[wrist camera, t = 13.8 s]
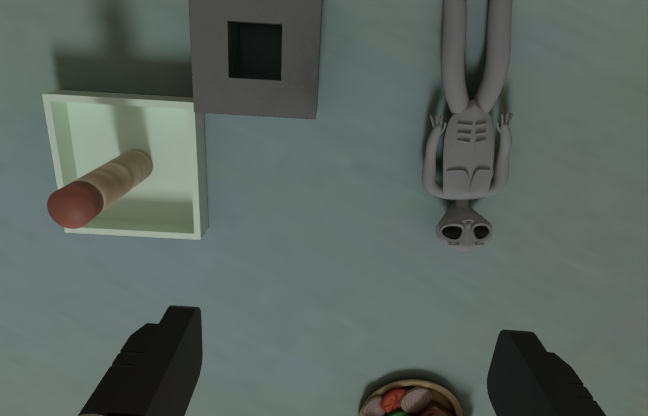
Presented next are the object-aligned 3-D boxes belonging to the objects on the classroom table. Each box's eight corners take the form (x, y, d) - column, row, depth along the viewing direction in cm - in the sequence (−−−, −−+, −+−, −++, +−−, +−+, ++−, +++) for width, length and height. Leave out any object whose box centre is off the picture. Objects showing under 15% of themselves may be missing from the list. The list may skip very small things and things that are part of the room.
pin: (119, 148, 42) (43, 188, 31) (151, 149, 42) (87, 190, 31) (123, 178, 43) (51, 227, 32) (154, 180, 43) (92, 229, 32)
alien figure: (547, -43, 33) (510, 260, 41) (520, -31, 38) (491, 240, 46) (440, -40, 33) (423, 261, 41) (426, -28, 38) (414, 241, 46)
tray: (61, 89, 41) (41, 93, 38) (203, 98, 41) (194, 102, 38) (81, 220, 45) (65, 232, 42) (208, 227, 45) (200, 239, 43)
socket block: (204, -17, 37) (187, -25, 33) (322, -9, 38) (322, -16, 33) (209, 104, 41) (193, 112, 36) (316, 110, 41) (315, 119, 36)
